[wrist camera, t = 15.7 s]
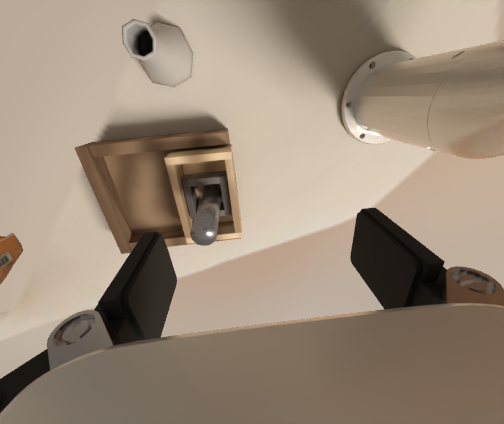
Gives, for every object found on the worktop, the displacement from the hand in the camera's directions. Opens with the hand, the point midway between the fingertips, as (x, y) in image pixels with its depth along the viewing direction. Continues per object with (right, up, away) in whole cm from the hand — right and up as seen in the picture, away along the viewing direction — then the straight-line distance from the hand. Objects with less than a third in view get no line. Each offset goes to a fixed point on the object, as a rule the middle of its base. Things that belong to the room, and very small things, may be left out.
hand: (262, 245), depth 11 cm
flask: (-12, +23, +19) cm, 32 cm away
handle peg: (-7, +5, +26) cm, 28 cm away
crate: (-8, +5, +27) cm, 28 cm away
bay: (-14, +5, +28) cm, 32 cm away
